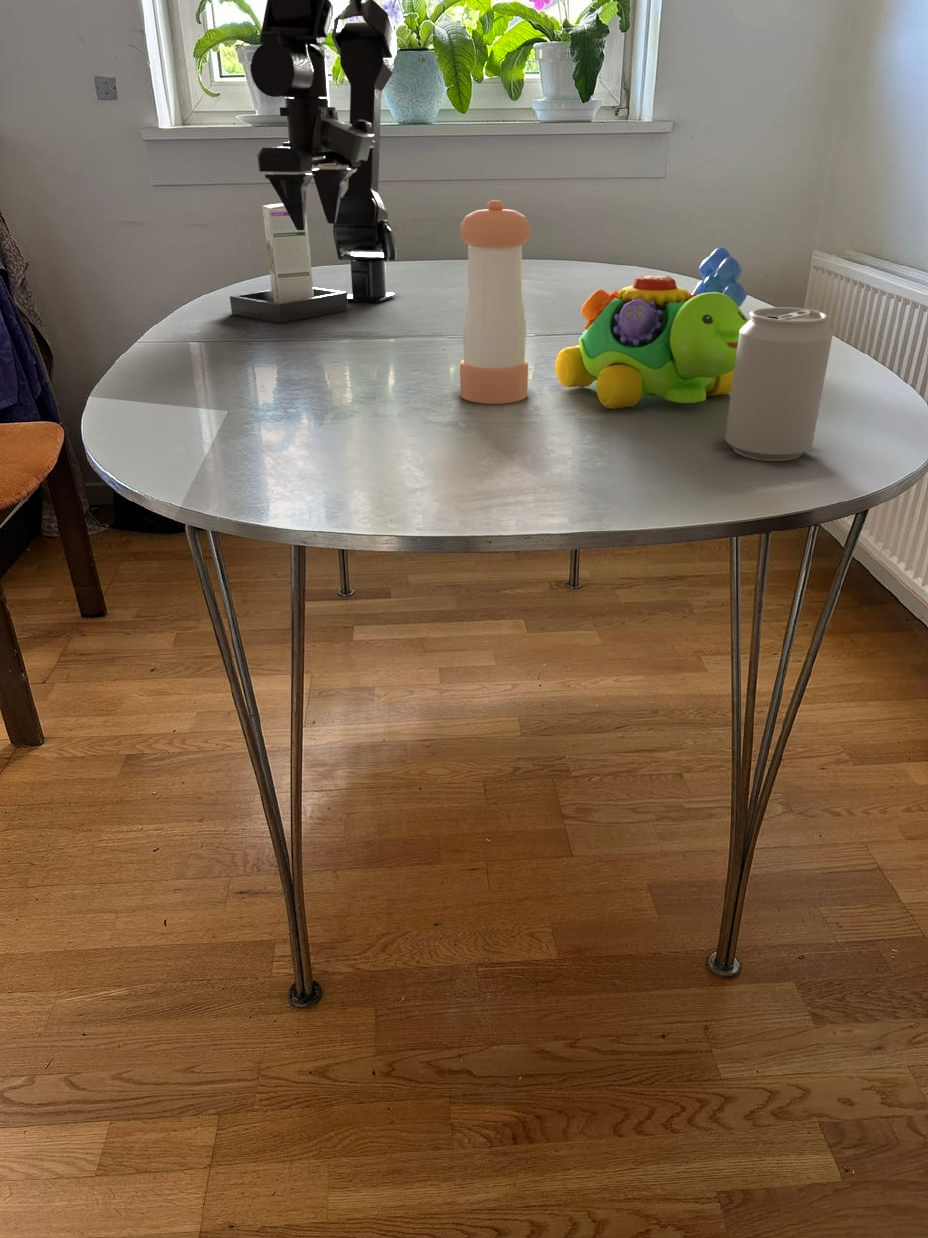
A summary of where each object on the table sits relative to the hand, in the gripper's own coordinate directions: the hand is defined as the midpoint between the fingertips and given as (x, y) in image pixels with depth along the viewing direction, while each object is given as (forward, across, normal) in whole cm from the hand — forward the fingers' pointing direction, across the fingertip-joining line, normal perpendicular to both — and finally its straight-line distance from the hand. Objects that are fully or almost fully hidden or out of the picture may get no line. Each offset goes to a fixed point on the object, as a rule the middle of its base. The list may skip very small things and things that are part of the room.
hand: (316, 226), depth 128 cm
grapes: (+13, 0, -55) cm, 57 cm away
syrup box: (+13, +7, +9) cm, 17 cm away
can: (+13, -40, -65) cm, 77 cm away
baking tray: (+13, +6, +9) cm, 17 cm away
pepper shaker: (+13, -30, -36) cm, 49 cm away
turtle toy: (+13, -25, -53) cm, 60 cm away
